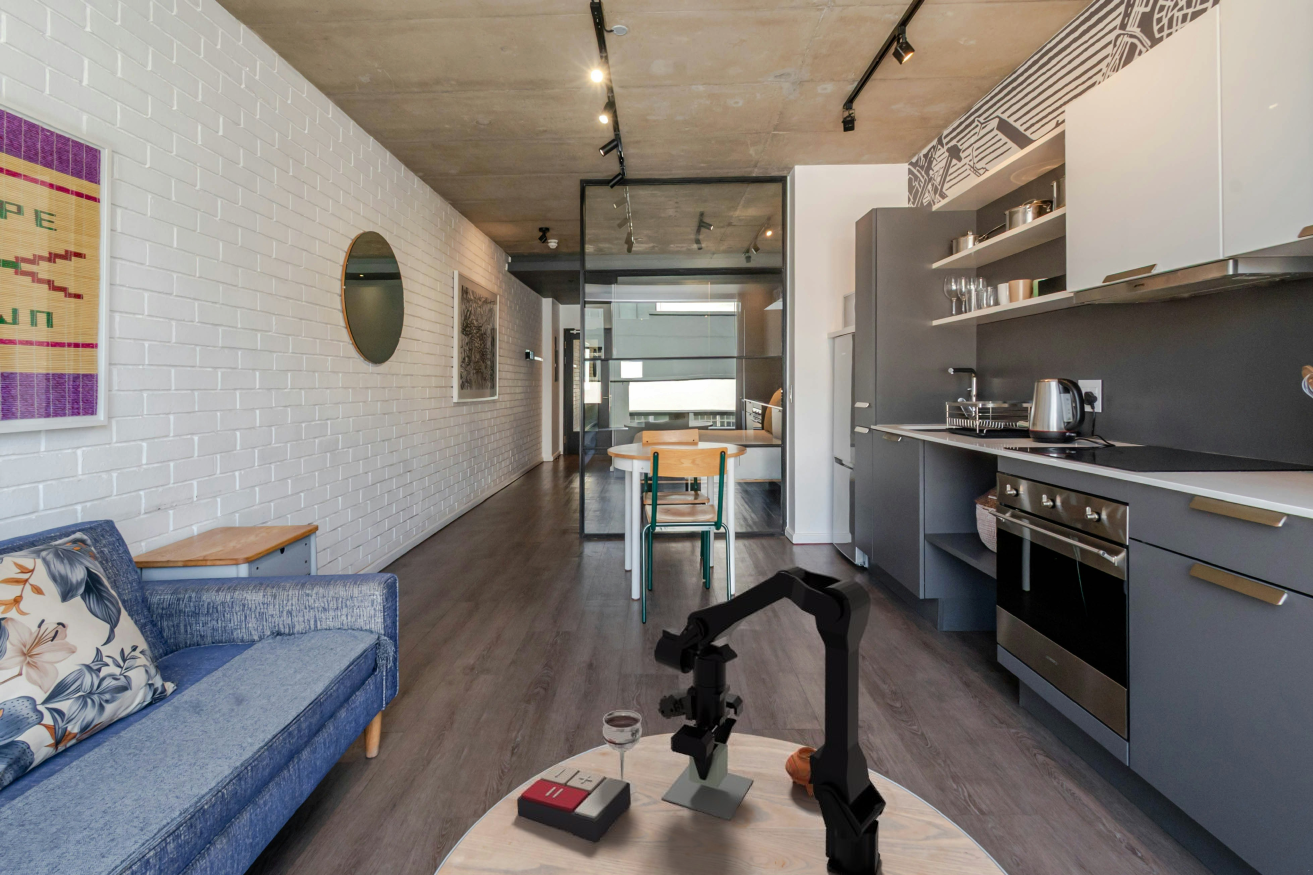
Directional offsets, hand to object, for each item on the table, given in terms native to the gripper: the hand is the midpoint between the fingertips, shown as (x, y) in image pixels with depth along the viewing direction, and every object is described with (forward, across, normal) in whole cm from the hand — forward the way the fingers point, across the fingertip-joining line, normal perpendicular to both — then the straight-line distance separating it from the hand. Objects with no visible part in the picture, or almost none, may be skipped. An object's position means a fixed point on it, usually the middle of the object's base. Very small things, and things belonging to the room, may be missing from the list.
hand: (708, 771), depth 104 cm
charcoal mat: (+3, 0, 0) cm, 3 cm away
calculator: (+4, +15, -18) cm, 23 cm away
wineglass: (+3, +6, -14) cm, 15 cm away
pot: (+4, -9, +15) cm, 18 cm away
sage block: (+1, 0, 0) cm, 1 cm away
